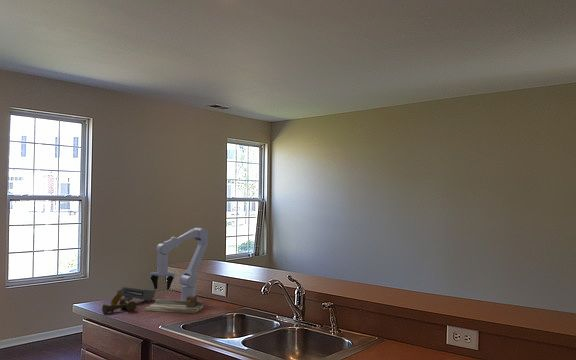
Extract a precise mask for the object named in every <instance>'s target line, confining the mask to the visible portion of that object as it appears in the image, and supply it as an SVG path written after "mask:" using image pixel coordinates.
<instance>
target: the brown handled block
mask: <svg viewBox="0 0 576 360" xmlns="http://www.w3.org/2000/svg"><path fill="white" fill-rule="evenodd" d="M197 301H198V295H196V296H193V295H190V296H188V297H187V302H185V303H186V307H187V308H188V307H190V308H194V307H195V306H197Z"/></svg>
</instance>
